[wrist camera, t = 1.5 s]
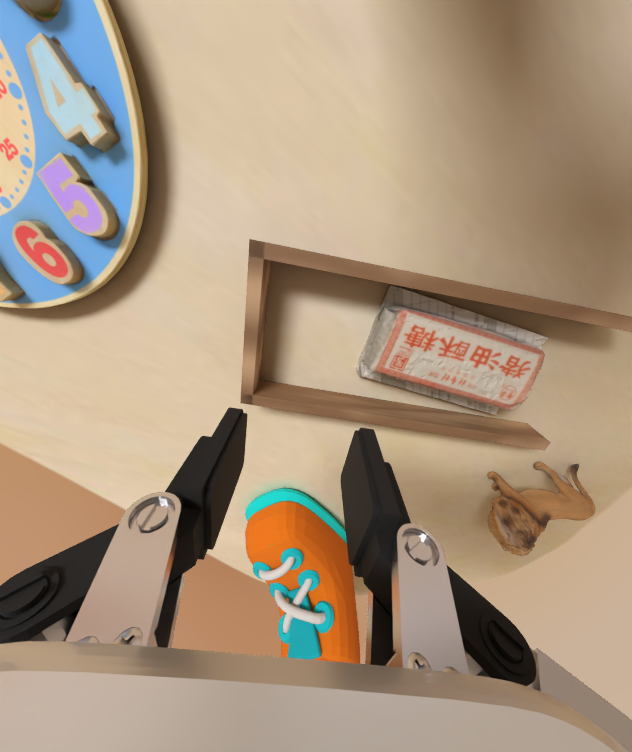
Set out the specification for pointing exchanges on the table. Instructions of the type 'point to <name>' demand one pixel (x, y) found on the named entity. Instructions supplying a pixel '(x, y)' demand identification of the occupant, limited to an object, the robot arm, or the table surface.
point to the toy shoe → (305, 575)
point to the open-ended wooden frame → (378, 409)
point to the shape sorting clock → (66, 151)
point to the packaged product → (450, 353)
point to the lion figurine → (534, 509)
